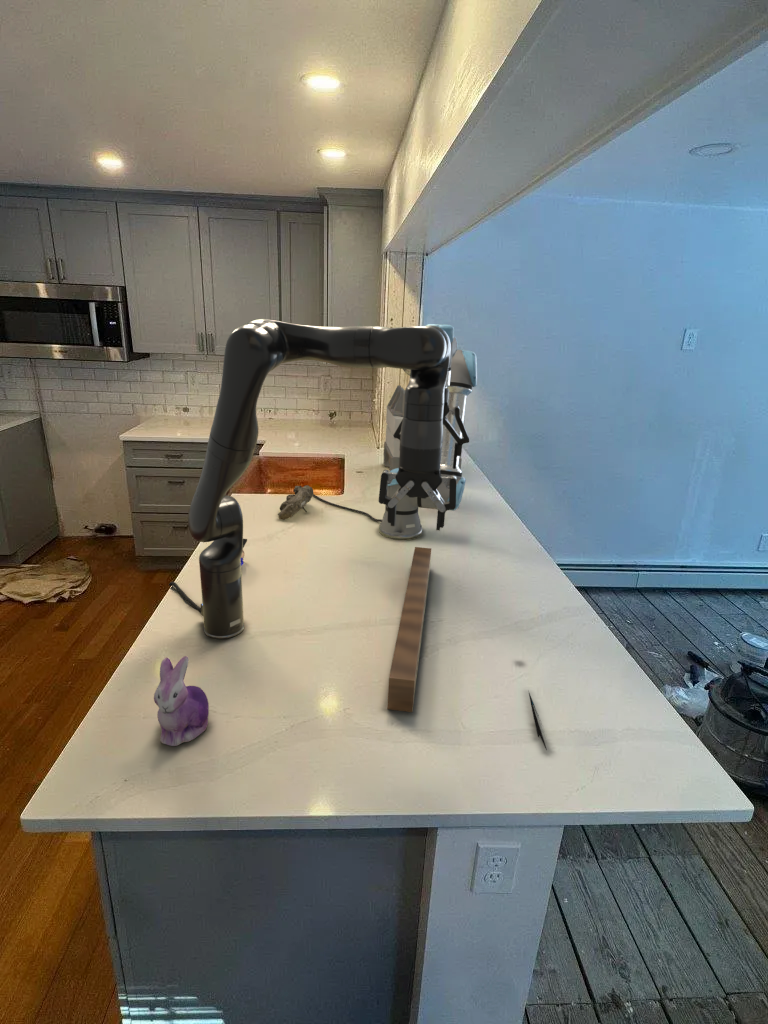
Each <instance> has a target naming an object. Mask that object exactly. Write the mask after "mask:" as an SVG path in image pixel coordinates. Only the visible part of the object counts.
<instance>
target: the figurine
mask: <svg viewBox="0 0 768 1024" xmlns="http://www.w3.org/2000/svg"><path fill="white" fill-rule="evenodd" d="M188 666H189V656H187V655H184V656H183V657H181V658H180V660H178V662H177V663H176V664H175V666H173V663H172V661H171V659H170V658H169V657H164V658H163V659H162V660H161V663H160V667H159V683H158V685H157V687H156V689H155V691H154V694H153V702H154V704H155V705H156V706H157V707H158V710H157V721H158V724H159V726H160V729H161V733H160V738H159V739H160V743H161V744H163V745H167V746H170V747H177V746H179V745H181V744H182V743H188V742H191V741H192V740H195V739H196V738H197V737H199V736H200V735H202V734H203V733H204V731H206V730H207V728H208V725H209V714H210V713H209V711H210V710H209V708H210V707H209V706H210V704H209V699H208V696H207V694H206V692H205V691H204V690H203V689H202V688H201V687H199V686H197V685H186V683H185V676H186V674H187V670H188Z"/></svg>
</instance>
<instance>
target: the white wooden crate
mask: <svg viewBox="0 0 768 1024" xmlns="http://www.w3.org/2000/svg"><path fill="white" fill-rule="evenodd" d="M405 390H406V389H404V388H403V387H402V385H399V384H398V385H397V386H396V388H395V390H394V392H393V394H392V395H391V398H390V400H389V402H388V404H387V405H386V413H385V414H386V415H385V423H386V428H385V438H384V442H383V466H384V467H388V468H389V472H390V471H391V470H393V469H396V468H399V457H400V440H399V439H397V438H394V436H393V435H394V433H395V431H396V430H397V428H398V426H399V424H400V423H401V421H402V419H403V408H404V395H405ZM463 424H464V425H465V419H464V422H463ZM400 434H401V432H400ZM462 438H463V435H462ZM462 453H463V451H462V452H461V454H462ZM462 461H463V460H462V455H461V456H460V457H459V466H458V467H459V469H460V470H461V471H462Z"/></svg>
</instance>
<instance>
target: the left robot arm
mask: <svg viewBox="0 0 768 1024" xmlns="http://www.w3.org/2000/svg"><path fill="white" fill-rule="evenodd" d="M427 325H428V324H427ZM450 353H451V344H450V339H449V337H448V335H447V333H446V332H445V331H444V330H443V329H442V328H440V327H438V326H434V325H428V326H426V325H415V326H397V327H388V326H383V325H381V326H380V325H351V326H347V325H346V326H320V325H319V326H317V325H307V324H306V325H305V324H296V323H291V322H287V321H286V322H285V321H280V320H274V319H267V318H256V319H253V320H250V321H248V322H247V323H244V324H242V325H239V326H238V327H236V328H234V329H233V330H232V331H231V333H230V334H229V335H228V338H227V340H226V343H225V346H224V354H223V365H222V375H221V383H220V391H219V396H218V398H217V403H216V407H215V411H214V416H213V421H212V424H211V427H210V431H209V436H208V441H207V446H206V450H205V457H204V461H203V465H202V468H201V472H200V475H199V480H198V483H197V486H196V488H195V491H194V494H193V497H192V499H191V502H190V505H189V509H188V512H187V513H188V514H187V526H188V530H189V531H188V532H189V533H190V536H191V537H192V538H193V539H194V540H195V541H196V542H199V543H210V542H211V543H210V544H209V545H208V546H207V547H206V548H204V549H203V550H202V551H201V552H200V553H199V557H198V564H199V577H200V590H201V603H200V605H197V603H196V602H194V601H193V600H192V599H191V598H190V597H189V596H188V595H187V594H186V592H185V591H184V590H183V589H182V588H181V587H180V586H179V585H178V584H177V582H175V581H170V582H169V583H168V586H169V587H174V589H175V590H176V591H177V592H178V593H179V594H180V595H181V597H182V598H183V599H184V600H185V601H186V602H187V603H188V604H189V605H190V606H191V607H192V608H194V609H195V610H196V611H198V612H200V615H201V616H202V617H203V618H202V619H203V633H204V634H205V635H206V637H208V638H211V639H216V640H225V639H231V638H233V637H236V636H238V635H240V634H241V633H242V632H243V631H244V629H245V622H244V599H243V581H242V578H243V577H242V566H241V556H242V552H243V551H244V548H243V539H244V518H243V517H244V515H243V512H242V507H241V505H240V502H238V500H237V499H236V498H235V497H234V496H232V495H228V494H227V493H228V492H229V490H230V489H231V488H232V487H233V486H234V484H235V483H236V482H237V481H238V480H239V479H240V478H241V477H242V476H243V474H244V473H245V472H246V470H247V469H248V468H249V466H250V465H251V462H252V461H253V457H254V454H255V451H256V448H257V443H258V438H259V423H258V416H257V405H258V400H259V398H260V397H259V396H260V393H261V390H262V388H263V385H264V382H265V380H266V378H267V376H268V375H269V373H270V372H272V371H273V370H275V369H276V368H278V367H279V366H281V364H285V363H291V362H297V361H318V362H322V363H326V364H330V365H334V366H338V367H343V368H354V369H383V368H391V369H401V370H403V369H409V370H411V371H410V376H409V381H408V384H407V386H406V387H405V389H404V390H405V395H404V408H403V421H402V426H401V437H400V457H399V470H398V472H397V473H393V472H390V470H388V469H384V470H383V471H382V472H381V474H380V483H379V491H378V500H377V501H378V503H379V504H380V505H387V507H388V519H387V521H388V523H391V526H395V522H396V504H397V503H398V502H399V501H400V500H401V499H402V498H403V497H404V496H405V494H406V495H407V496H409V497H412V498H414V497H419V498H424V499H426V498H427V497H430V499H431V500H432V501H433V503H434V504H435V505H436V506H437V508H438V509H437V513H436V514H437V515H436V527H435V530H436V531H441V529H442V528H444V526H445V517H446V513H447V511H450V510H454V509H455V508H456V480H457V478H456V476H455V475H451V476H450V477H445V476H441V474H440V466H441V453H442V442H443V409H444V389H445V383H446V379H447V373H448V368H449V362H450ZM393 479H396V481H397V482H398V484H399V485H400V488H399V489H398V490H397V492H396V493H395V494H394V495H393V496H392V497H391V498H390V497H388V496H387V488H388V484H391V482H392V480H393ZM441 483H444V484H445V487H446V488H447V489H450V491H449V501H448V502H444V500H443V499H442V497H441V496H440V494H439V492H438V491H437V488H438V487H439V485H440V484H441ZM226 494H227V495H226Z"/></svg>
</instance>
